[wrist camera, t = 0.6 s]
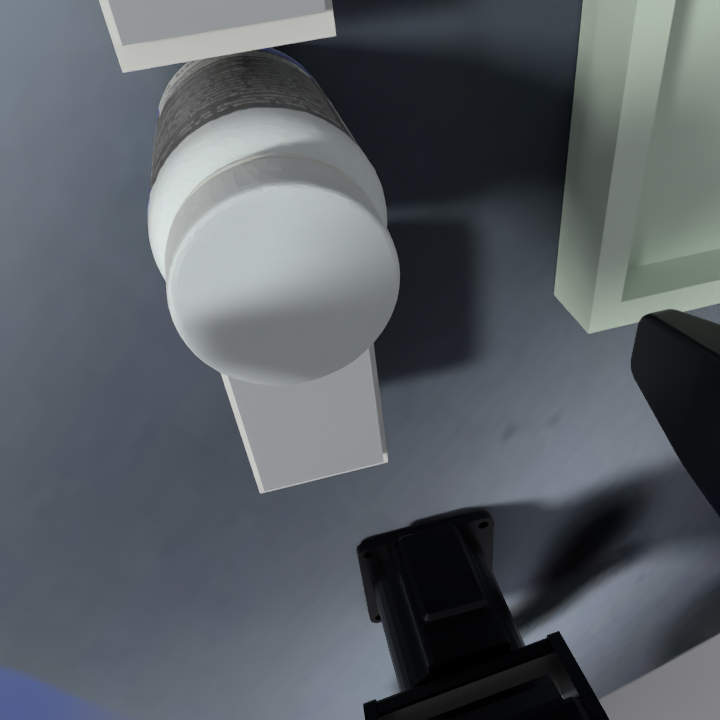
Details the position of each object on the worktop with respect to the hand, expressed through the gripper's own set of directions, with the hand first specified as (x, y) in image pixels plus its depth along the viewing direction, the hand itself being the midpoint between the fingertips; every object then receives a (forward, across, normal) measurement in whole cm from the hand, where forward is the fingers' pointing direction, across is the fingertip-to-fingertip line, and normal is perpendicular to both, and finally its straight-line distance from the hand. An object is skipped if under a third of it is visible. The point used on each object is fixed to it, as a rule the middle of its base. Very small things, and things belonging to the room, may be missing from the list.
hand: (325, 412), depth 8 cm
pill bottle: (+12, 0, 0) cm, 12 cm away
